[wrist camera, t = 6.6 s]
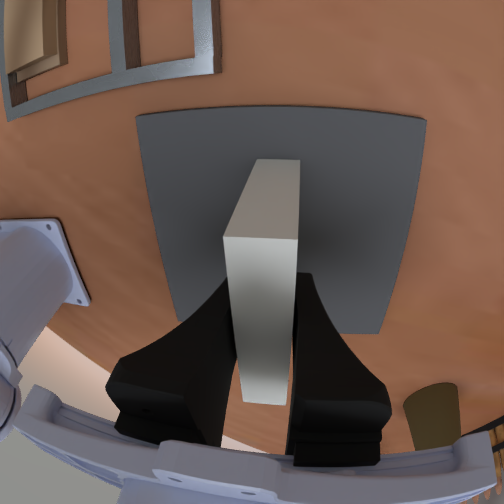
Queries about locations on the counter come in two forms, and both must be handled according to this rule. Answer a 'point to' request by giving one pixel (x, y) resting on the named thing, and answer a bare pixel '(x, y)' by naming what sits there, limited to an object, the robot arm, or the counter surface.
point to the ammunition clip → (499, 427)
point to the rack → (123, 58)
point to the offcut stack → (34, 36)
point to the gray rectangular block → (264, 277)
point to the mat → (310, 197)
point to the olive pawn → (434, 416)
